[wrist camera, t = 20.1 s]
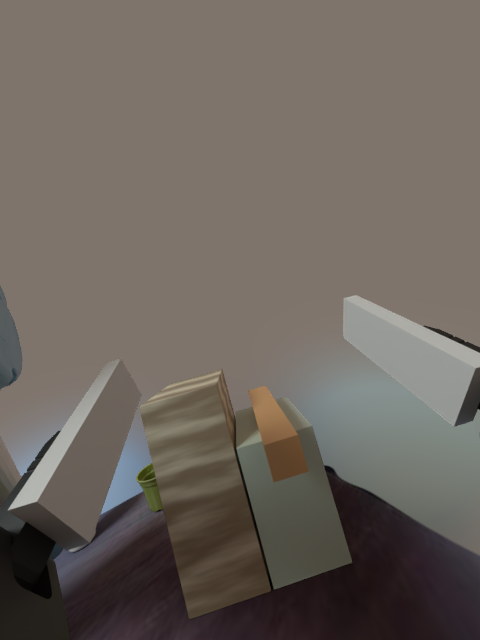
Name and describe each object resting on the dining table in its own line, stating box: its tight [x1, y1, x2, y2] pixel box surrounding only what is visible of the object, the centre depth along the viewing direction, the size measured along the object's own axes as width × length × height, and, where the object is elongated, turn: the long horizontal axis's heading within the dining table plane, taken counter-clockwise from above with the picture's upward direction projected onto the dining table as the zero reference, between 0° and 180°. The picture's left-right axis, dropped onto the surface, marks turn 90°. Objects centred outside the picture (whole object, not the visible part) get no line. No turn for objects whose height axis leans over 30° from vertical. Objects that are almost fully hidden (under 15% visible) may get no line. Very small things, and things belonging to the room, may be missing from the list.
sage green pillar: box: [236, 397, 352, 590], centre depth 39 cm, size 16×12×20 cm
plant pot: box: [136, 463, 163, 512], centre depth 55 cm, size 9×9×9 cm
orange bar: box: [248, 386, 309, 482], centre depth 35 cm, size 24×4×4 cm, turn 2°
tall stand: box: [139, 369, 271, 619], centre depth 39 cm, size 16×12×30 cm
